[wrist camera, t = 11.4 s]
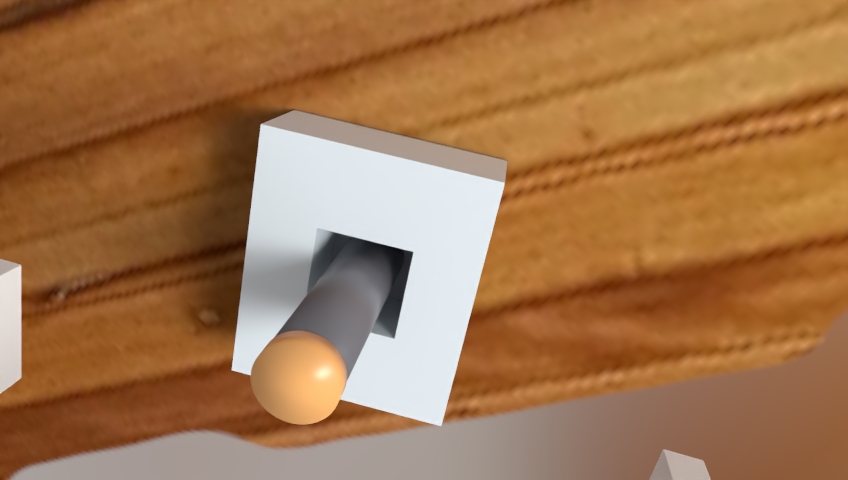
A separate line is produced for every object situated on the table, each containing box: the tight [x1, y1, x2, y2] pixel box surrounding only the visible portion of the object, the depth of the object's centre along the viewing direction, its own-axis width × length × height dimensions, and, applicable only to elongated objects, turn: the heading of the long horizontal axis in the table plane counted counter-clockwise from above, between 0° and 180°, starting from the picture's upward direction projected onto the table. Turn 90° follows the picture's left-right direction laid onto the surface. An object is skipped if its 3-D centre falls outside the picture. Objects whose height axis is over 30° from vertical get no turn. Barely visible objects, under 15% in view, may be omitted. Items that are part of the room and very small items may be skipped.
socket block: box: [232, 110, 507, 426], centre depth 36 cm, size 12×14×5 cm
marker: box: [251, 237, 404, 424], centre depth 31 cm, size 4×4×14 cm
